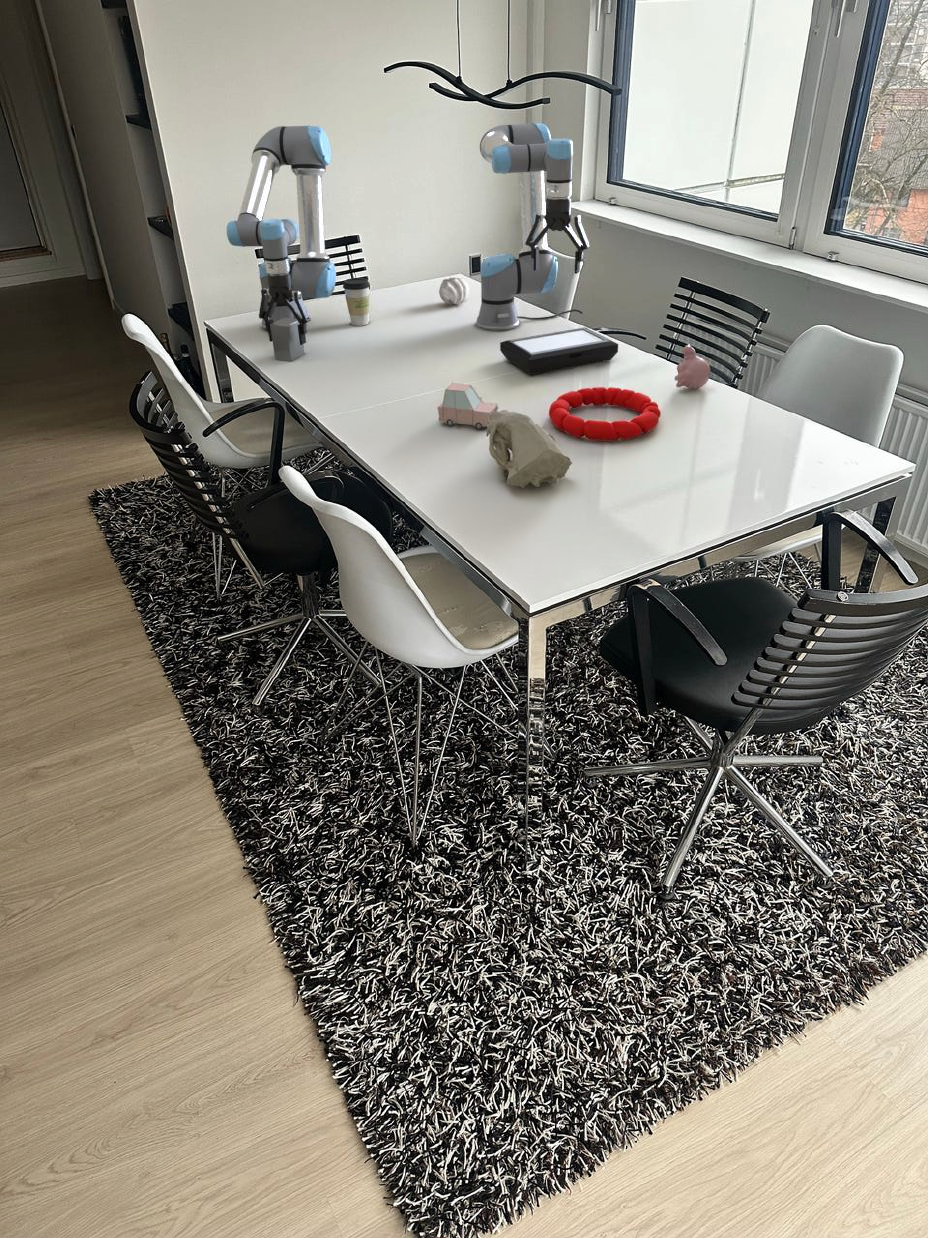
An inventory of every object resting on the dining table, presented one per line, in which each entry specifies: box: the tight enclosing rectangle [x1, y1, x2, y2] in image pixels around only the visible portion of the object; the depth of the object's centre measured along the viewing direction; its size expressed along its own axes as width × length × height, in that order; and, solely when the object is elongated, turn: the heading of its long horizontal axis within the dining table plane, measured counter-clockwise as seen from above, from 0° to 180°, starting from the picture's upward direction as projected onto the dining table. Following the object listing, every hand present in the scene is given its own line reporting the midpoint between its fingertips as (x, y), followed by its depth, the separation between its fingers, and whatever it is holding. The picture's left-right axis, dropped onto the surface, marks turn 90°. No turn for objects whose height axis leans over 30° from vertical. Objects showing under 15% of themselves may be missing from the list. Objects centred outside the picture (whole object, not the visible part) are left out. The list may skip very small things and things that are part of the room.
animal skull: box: [485, 409, 573, 489], centre depth 216 cm, size 17×25×20 cm
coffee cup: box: [342, 277, 371, 327], centre depth 323 cm, size 10×10×15 cm
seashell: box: [438, 277, 470, 305], centre depth 341 cm, size 10×15×10 cm
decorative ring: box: [548, 386, 661, 442], centre depth 242 cm, size 7×30×30 cm
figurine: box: [674, 344, 711, 390], centre depth 259 cm, size 9×11×12 cm
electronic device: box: [499, 326, 619, 376], centre depth 285 cm, size 32×6×20 cm
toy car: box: [437, 382, 499, 431], centre depth 243 cm, size 9×15×10 cm, turn 70°
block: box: [270, 318, 305, 362], centre depth 295 cm, size 6×8×12 cm
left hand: (287, 341), depth 295 cm, fingers open, 11 cm apart
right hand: (556, 271), depth 280 cm, fingers open, 13 cm apart
